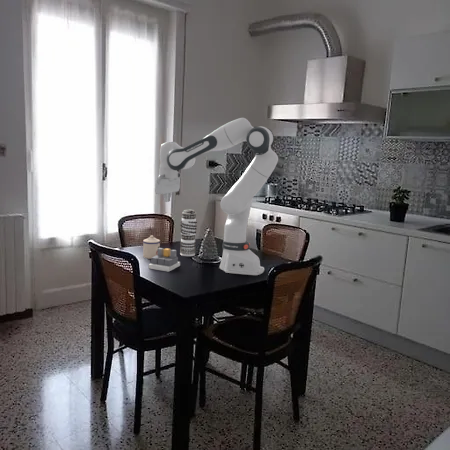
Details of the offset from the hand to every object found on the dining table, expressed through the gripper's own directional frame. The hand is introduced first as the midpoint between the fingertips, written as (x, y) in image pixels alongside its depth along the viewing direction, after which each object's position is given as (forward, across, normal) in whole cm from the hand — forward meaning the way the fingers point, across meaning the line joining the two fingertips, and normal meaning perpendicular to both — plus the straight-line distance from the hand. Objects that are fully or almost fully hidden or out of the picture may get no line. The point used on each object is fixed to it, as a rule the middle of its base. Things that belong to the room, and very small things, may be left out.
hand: (167, 201), depth 225 cm
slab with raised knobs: (+31, -11, -5) cm, 33 cm away
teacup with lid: (+31, +4, +11) cm, 33 cm away
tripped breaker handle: (+26, -9, -5) cm, 28 cm away
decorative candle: (+31, +18, -4) cm, 36 cm away
